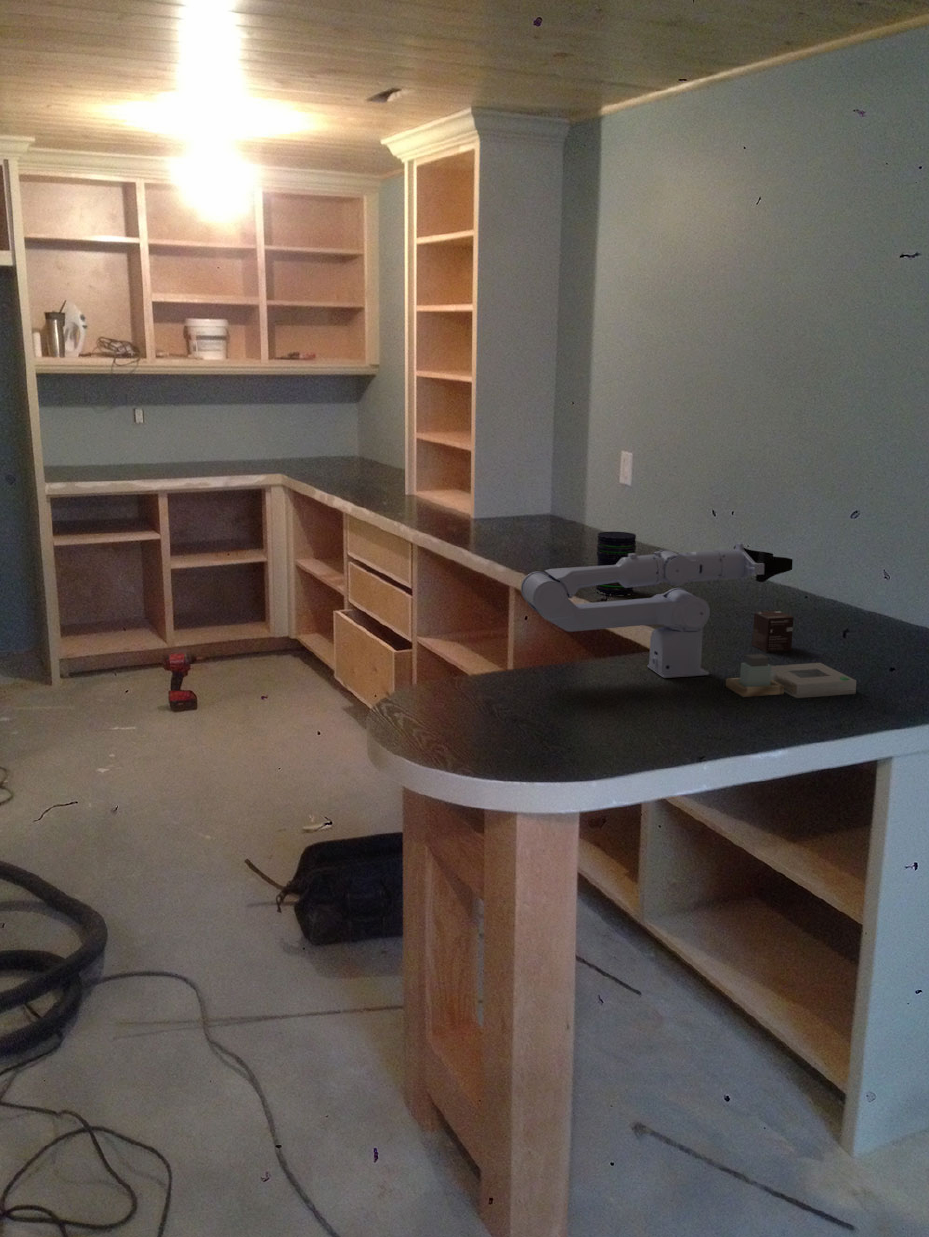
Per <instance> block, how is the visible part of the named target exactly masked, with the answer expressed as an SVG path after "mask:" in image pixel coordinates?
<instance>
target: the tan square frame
mask: <svg viewBox="0 0 929 1237" xmlns="http://www.w3.org/2000/svg"><path fill="white" fill-rule="evenodd" d="M725 687H727V688H728V689H730V690H731V691H733V692H734V693H736V694H738V695H739V696H741V697H743V698H746V697H747V698H748V697H761V696H762V697H763V696H773V695H774V696H775V695H776V696H777V695H784V694H785V692H784V686H783V685H781V684H779V683H778V682H776V681H774V680H772V679H771V680H770V686H758V687H744V686H742V685H741V684H740V677H730V678H729V677H728V678H726V680H725Z"/></svg>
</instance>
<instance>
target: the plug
mask: <svg viewBox="0 0 929 1237" xmlns="http://www.w3.org/2000/svg"><path fill="white" fill-rule="evenodd" d="M744 658H745V660H744V661H745V662H741V663H740V670H739V671H740V674H739V678H740V684H741V685H742V686H744V687H758V686H770V680H771V667H772V666H773V665H771V664H769V657H768V656H766V655H764V654H763V653H759V654H757V653H756V654H746V655H745V657H744Z"/></svg>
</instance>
